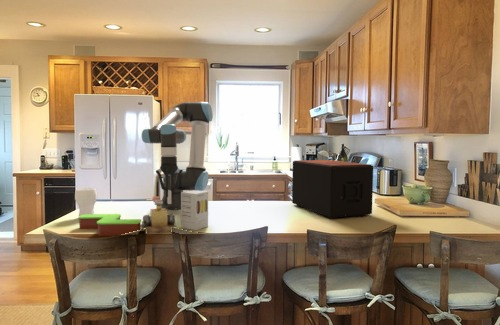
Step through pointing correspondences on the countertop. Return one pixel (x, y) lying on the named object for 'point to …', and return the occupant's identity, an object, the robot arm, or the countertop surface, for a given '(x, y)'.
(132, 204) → the countertop surface
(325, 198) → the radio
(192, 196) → the supplement box
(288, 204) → the countertop surface
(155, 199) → the lever
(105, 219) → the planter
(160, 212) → the valve
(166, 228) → the board
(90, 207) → the cup
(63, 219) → the countertop surface
